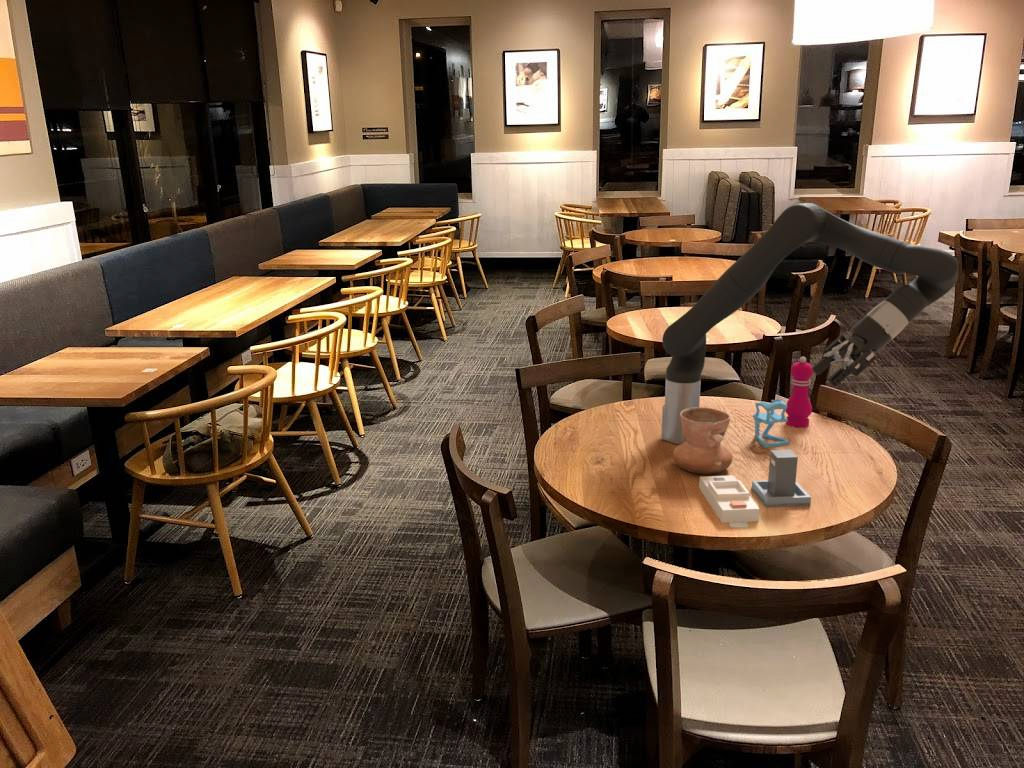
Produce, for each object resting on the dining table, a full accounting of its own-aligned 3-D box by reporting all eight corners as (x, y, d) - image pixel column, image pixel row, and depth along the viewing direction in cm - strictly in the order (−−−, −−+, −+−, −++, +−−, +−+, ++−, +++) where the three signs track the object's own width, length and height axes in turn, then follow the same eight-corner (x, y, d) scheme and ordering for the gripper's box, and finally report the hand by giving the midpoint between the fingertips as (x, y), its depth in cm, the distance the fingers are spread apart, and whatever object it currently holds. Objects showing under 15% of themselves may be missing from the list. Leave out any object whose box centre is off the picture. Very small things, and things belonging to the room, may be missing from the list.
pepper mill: (814, 428, 230) (820, 359, 224) (788, 428, 230) (794, 360, 224) (805, 419, 237) (811, 353, 231) (780, 420, 237) (786, 353, 231)
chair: (771, 434, 226) (774, 393, 223) (789, 444, 218) (793, 401, 215) (747, 438, 224) (749, 396, 220) (765, 448, 216) (768, 405, 213)
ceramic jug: (745, 477, 198) (748, 422, 194) (689, 483, 195) (692, 427, 191) (711, 452, 215) (714, 401, 211) (659, 457, 212) (661, 405, 208)
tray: (766, 506, 182) (767, 498, 182) (751, 488, 192) (752, 480, 191) (810, 505, 183) (811, 497, 182) (793, 486, 192) (794, 479, 192)
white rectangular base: (699, 488, 192) (700, 471, 191) (732, 487, 193) (733, 470, 192) (722, 522, 175) (723, 505, 174) (758, 521, 176) (760, 503, 174)
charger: (767, 490, 189) (770, 450, 186) (787, 489, 189) (790, 449, 187) (773, 498, 185) (777, 457, 182) (794, 498, 185) (797, 457, 182)
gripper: (854, 307, 183) (799, 358, 186) (885, 322, 170) (825, 376, 172) (874, 330, 185) (819, 379, 188) (906, 346, 171) (847, 399, 174)
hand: (822, 377), depth 180 cm, fingers open, 8 cm apart
